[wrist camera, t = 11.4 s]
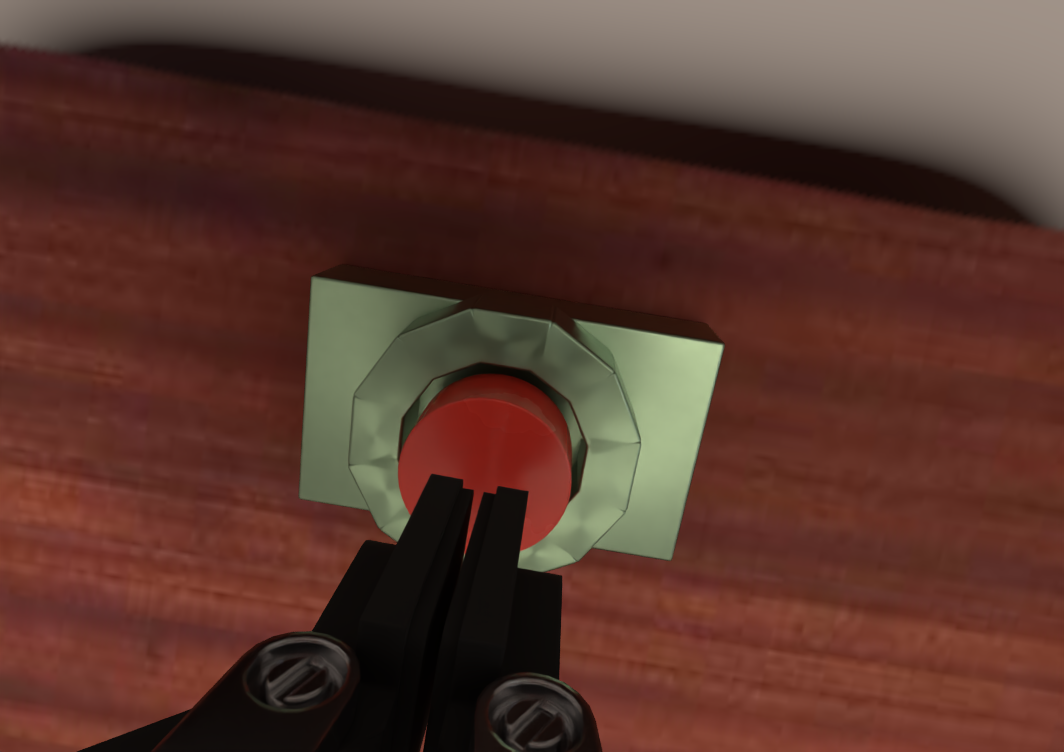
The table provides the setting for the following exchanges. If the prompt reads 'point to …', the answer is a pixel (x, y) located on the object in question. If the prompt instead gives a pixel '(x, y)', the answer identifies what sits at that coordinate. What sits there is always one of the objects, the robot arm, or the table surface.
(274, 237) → the table surface
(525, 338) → the button box
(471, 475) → the button
